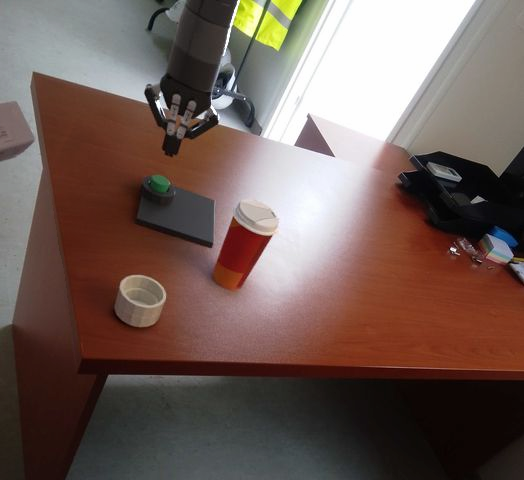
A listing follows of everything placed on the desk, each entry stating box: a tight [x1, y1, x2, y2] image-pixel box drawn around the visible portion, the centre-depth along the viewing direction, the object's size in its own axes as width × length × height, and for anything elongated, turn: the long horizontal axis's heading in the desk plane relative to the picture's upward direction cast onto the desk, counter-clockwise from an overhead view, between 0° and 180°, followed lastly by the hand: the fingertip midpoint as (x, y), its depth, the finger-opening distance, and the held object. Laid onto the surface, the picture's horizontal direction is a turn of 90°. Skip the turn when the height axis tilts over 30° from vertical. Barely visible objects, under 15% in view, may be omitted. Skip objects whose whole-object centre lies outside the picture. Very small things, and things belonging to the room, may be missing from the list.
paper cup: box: [212, 198, 280, 291], centre depth 75 cm, size 8×8×14 cm
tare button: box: [150, 174, 170, 193], centre depth 84 cm, size 3×3×2 cm
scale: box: [134, 175, 216, 249], centre depth 85 cm, size 15×15×3 cm
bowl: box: [113, 274, 167, 328], centre depth 64 cm, size 6×6×4 cm
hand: (168, 154), depth 80 cm, fingers closed
